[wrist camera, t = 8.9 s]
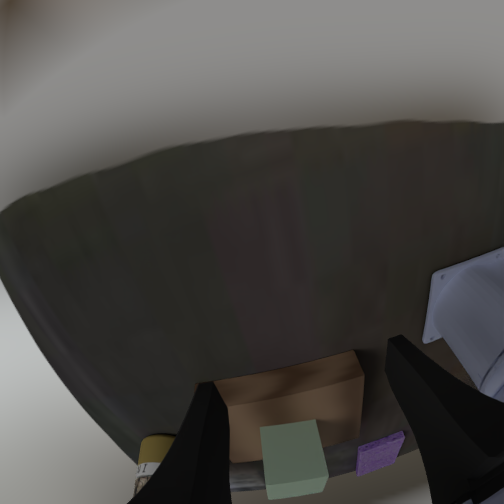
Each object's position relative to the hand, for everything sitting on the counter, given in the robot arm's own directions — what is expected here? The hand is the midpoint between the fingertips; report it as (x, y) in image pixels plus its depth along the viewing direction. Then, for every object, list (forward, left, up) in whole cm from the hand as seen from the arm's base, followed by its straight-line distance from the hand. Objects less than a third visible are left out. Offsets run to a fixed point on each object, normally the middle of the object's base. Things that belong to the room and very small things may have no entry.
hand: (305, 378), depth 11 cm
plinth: (+2, +16, -9) cm, 19 cm away
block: (+2, +17, -6) cm, 18 cm away
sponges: (-10, +38, -10) cm, 41 cm away
